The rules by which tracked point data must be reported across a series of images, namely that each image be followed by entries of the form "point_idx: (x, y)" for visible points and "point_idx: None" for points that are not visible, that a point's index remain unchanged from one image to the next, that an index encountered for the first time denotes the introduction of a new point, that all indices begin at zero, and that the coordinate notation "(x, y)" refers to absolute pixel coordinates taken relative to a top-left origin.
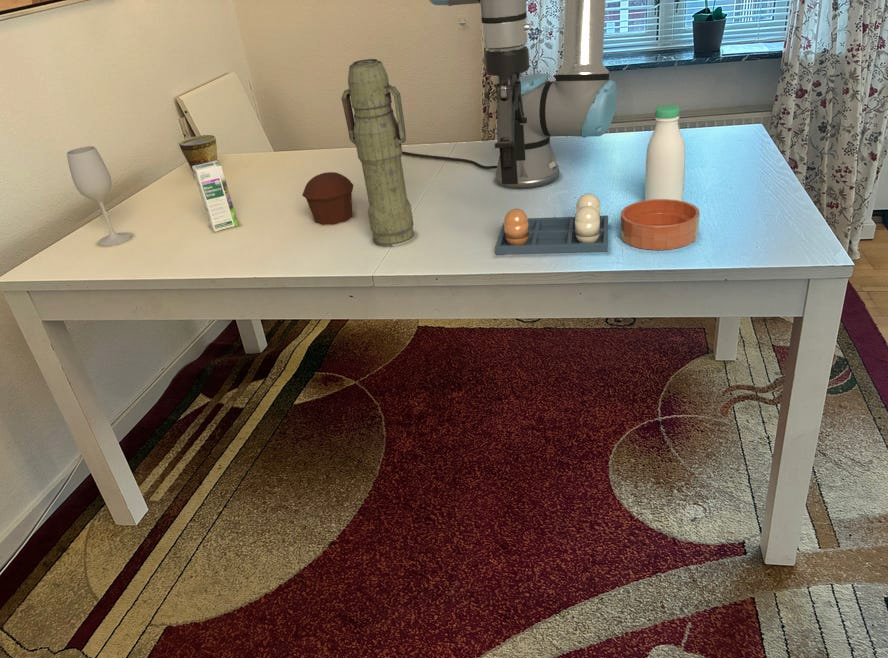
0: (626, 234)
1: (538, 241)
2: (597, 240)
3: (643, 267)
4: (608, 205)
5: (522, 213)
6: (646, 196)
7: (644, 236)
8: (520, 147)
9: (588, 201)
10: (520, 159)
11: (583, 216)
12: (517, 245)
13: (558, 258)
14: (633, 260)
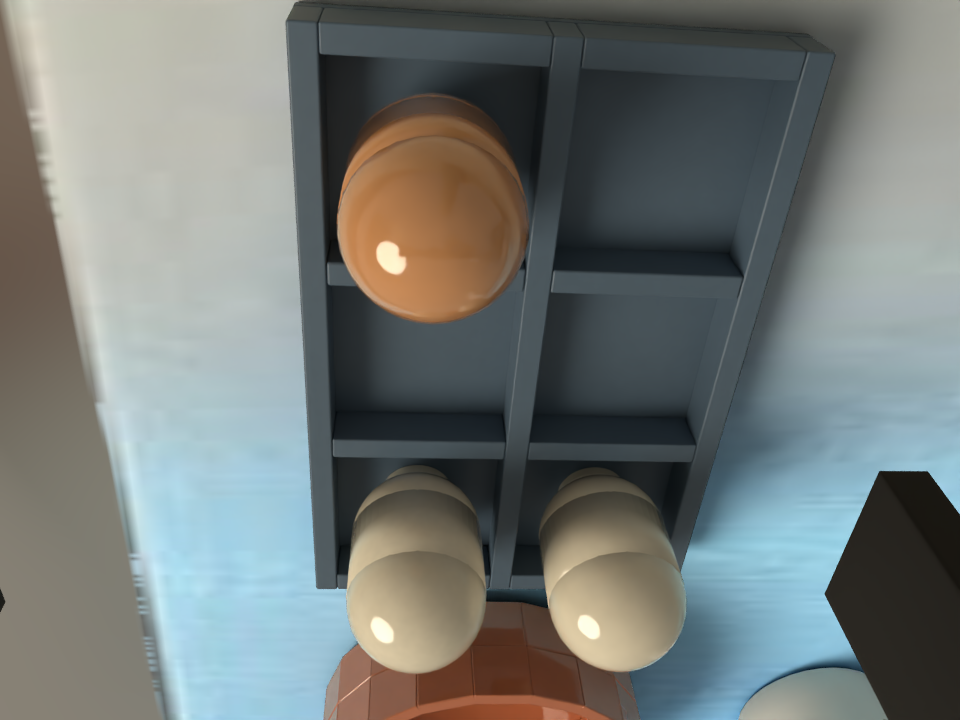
0: None
1: None
2: None
3: (186, 649)
4: None
5: (406, 315)
6: (822, 713)
7: (335, 714)
8: (916, 703)
9: (572, 638)
10: (847, 567)
11: (356, 617)
12: (312, 179)
13: (271, 367)
14: (253, 624)
